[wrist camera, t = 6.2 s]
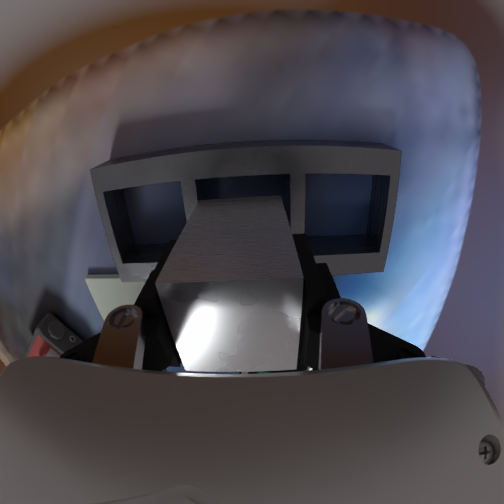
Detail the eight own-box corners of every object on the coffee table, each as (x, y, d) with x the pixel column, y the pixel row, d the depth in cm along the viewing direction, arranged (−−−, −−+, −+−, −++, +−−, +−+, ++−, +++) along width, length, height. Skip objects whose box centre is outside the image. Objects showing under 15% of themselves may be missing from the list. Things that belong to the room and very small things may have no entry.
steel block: (281, 265, 15) (296, 369, 9) (209, 268, 15) (185, 370, 9) (280, 195, 13) (303, 277, 7) (199, 200, 13) (155, 282, 7)
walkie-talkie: (78, 380, 30) (141, 335, 23) (67, 403, 26) (125, 373, 19) (31, 343, 27) (67, 273, 19) (17, 365, 23) (40, 305, 16)
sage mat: (178, 336, 23) (177, 341, 23) (114, 332, 24) (112, 336, 23) (159, 273, 20) (156, 278, 19) (87, 274, 20) (84, 278, 20)
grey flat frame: (383, 143, 15) (401, 150, 13) (371, 252, 19) (383, 271, 17) (109, 160, 16) (90, 169, 13) (134, 263, 20) (121, 282, 17)
